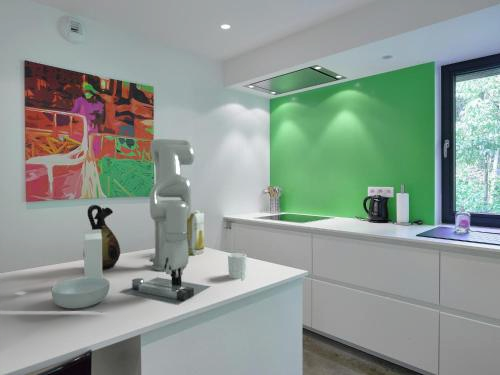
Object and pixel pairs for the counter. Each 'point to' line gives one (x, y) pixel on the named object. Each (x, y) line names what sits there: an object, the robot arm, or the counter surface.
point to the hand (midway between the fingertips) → (176, 286)
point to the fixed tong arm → (164, 291)
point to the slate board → (130, 291)
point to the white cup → (237, 265)
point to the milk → (93, 253)
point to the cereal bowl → (80, 292)
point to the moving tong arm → (139, 281)
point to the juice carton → (195, 233)
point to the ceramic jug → (105, 236)
